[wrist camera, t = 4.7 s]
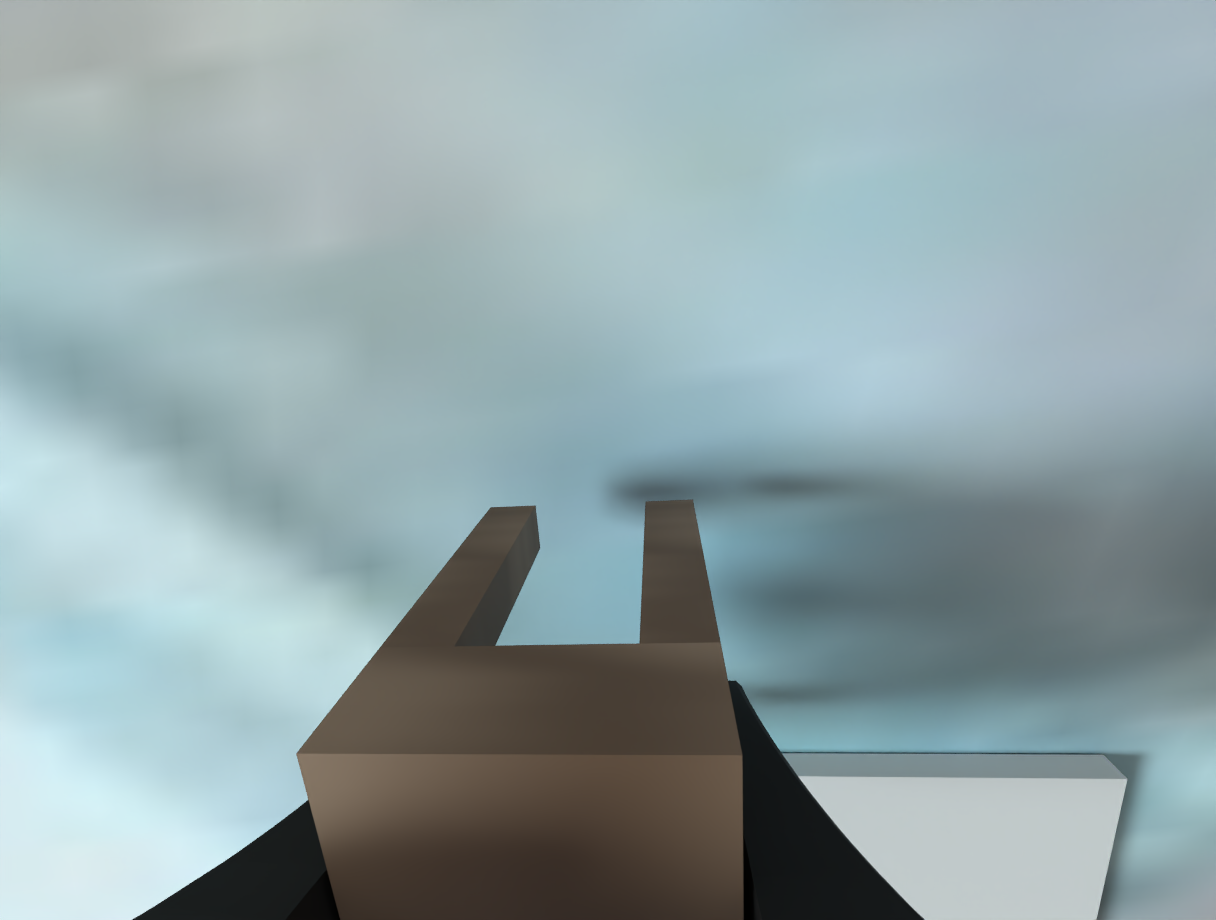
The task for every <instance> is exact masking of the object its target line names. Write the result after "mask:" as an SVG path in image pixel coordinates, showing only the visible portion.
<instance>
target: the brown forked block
mask: <svg viewBox="0 0 1216 920" xmlns="http://www.w3.org/2000/svg"><path fill="white" fill-rule="evenodd" d="M539 549H540V542H539V533H538V524H537V515H536V506H515V507H491V508H490V509H489V510H488V512H487V513H486V514H485V515H484V517H483V518H482V519H481V520H480V522H479V523H478V524H477V526H476V527H475V528H474V529H473V531H472V532H471V533H470V534H469V536H468V537H467V538H466V539H465V541H464V542H463V543H462V545H461V546H460V547H459V548H458V550H457V551H456V552H455V553H454V555H453V556H452V557H451V558H450V560H449V561H448V562H447V563H446V565H445V566H444V567H443V569H442V570H441V571H440V572H439V574H438V575H437V576H436V577H435V579H434V580H433V581H432V582H431V584H430V585H429V586H428V588H427V589H426V590H425V591H424V593H423V594H422V595H421V596H420V598H419V599H418V600H417V601H416V603H415V604H414V605H413V607H412V608H411V609H410V610H409V612H408V613H407V614H406V615H405V617H404V618H403V619H402V620H401V622H400V623H399V624H398V626H397V627H396V628H395V629H394V631H393V632H392V633H391V634H390V636H389V637H388V638H387V639H386V641H385V642H384V643H383V645H382V646H381V647H380V648H379V650H378V651H377V652H376V653H375V655H374V656H373V657H372V658H371V660H370V661H369V662H368V664H367V665H366V666H365V667H364V669H363V670H362V671H361V672H360V674H359V675H358V676H357V677H356V679H355V680H354V681H353V683H352V684H351V685H350V686H349V688H348V689H347V690H346V691H345V693H344V694H343V695H342V696H341V698H340V699H339V700H338V702H337V703H336V704H335V705H334V707H333V708H332V709H331V710H330V712H329V713H328V714H327V715H326V717H325V718H324V719H323V720H322V722H321V723H320V724H319V726H318V727H317V728H316V729H315V731H314V732H313V733H312V734H311V736H310V737H309V738H308V739H307V741H306V742H305V743H304V745H303V746H302V747H301V748H300V750H299V751H298V752H297V753H296V754H297V758H298V762H299V766H300V769H301V773H302V777H303V781H304V784H305V788H306V792H307V796H308V800H309V803H310V807H311V811H312V815H313V818H314V822H315V826H316V830H317V834H318V837H319V841H320V845H321V849H322V853H323V856H324V860H325V864H326V868H327V871H328V875H329V879H330V883H331V887H332V890H333V894H334V898H335V902H336V905H337V909H338V913H339V917H340V920H744V911H743V769H742V751H741V746H740V740H739V735H738V730H737V725H736V720H735V715H734V709H733V704H732V699H731V694H730V689H729V684H728V679H727V673H726V668H725V663H724V658H723V653H722V648H721V643H720V637H719V632H718V627H717V622H716V617H715V612H714V606H713V601H712V596H711V591H710V586H709V581H708V576H707V570H706V565H705V560H704V555H703V550H702V545H701V539H700V534H699V529H698V524H697V519H696V514H695V509H694V503H693V500H670V501H646V504H645V528H644V552H643V575H642V599H641V623H640V644H580V645H513V646H495V645H496V643H497V640H498V638H499V636H500V634H501V632H502V630H503V627H504V625H505V623H506V621H507V619H508V617H509V614H510V612H511V610H512V608H513V606H514V604H515V601H516V599H517V597H518V595H519V593H520V590H521V588H522V586H523V584H524V582H525V580H526V577H527V575H528V573H529V571H530V569H531V567H532V564H533V562H534V560H535V558H536V556H537V554H538V551H539Z"/></svg>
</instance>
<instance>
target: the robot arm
mask: <svg viewBox="0 0 1216 920" xmlns="http://www.w3.org/2000/svg"><path fill="white" fill-rule="evenodd" d="M728 684H729V689H730V694H731V699H732V704H733V709H734V715H735V720H736V725H737V730H738V735H739V740H740V746H741V751H742V769H743V911H744V920H925V919H924V918H923V917H922V916H920V915H919V914H918V913H917V912H916V911H915V910H914V909H913V908H912V907H911V906H910V905H909V904H908V903H907V902H906V901H905V900H904V899H903V898H902V897H901V896H900V895H899V893H898V892H897V891H896V890H895V889H894V888H893V887H892V886H891V885H890V884H889V883H888V882H887V881H886V880H885V879H884V878H883V877H882V876H881V875H880V874H879V873H878V872H877V871H876V869H875V868H874V867H873V866H872V865H871V864H870V863H869V862H868V861H867V860H866V858H865V857H864V856H863V855H862V854H861V853H860V852H859V851H858V850H857V849H856V847H855V846H854V845H853V844H852V843H851V842H850V841H849V839H848V838H847V837H846V836H845V835H844V834H843V832H842V831H841V830H840V829H839V828H838V826H837V825H836V824H835V823H834V822H833V820H832V819H831V818H830V817H829V816H828V814H827V813H826V812H825V811H824V809H823V808H822V807H821V805H820V804H819V803H818V802H817V800H816V799H815V798H814V797H813V795H812V794H811V793H810V792H809V790H808V789H807V788H806V786H805V785H804V784H803V782H802V781H801V780H800V778H799V777H798V776H797V774H796V773H795V771H794V770H793V768H792V767H791V766H790V764H789V763H788V761H787V760H786V759H785V757H784V756H783V754H782V753H781V751H780V750H779V749H778V747H777V746H776V744H775V743H774V741H773V740H772V738H771V737H770V735H769V734H768V732H767V730H766V729H765V727H764V726H763V724H762V722H761V721H760V719H759V718H758V716H757V714H756V712H755V711H754V709H753V707H752V705H751V704H750V702H749V700H748V698H747V696H746V694H745V692H744V690H743V688H742V686H741V685H740V684H739V683H737V682H736V681H728ZM133 920H340V917H339V913H338V909H337V905H336V902H335V898H334V894H333V890H332V887H331V883H330V879H329V875H328V871H327V868H326V864H325V860H324V856H323V853H322V849H321V845H320V841H319V837H318V834H317V830H316V826H315V822H314V818H313V815H312V811H311V807H310V803H309V800H308V801H306V802H305V803H304V804H303V805H301V806H300V807H299V808H298V809H296V810H295V811H294V812H292V813H291V814H290V815H288V816H287V817H286V818H284V819H283V820H282V821H281V822H279V823H278V824H277V825H275V826H274V827H273V828H271V829H270V830H268V831H267V832H266V833H264V834H263V835H261V836H260V837H259V838H257V839H256V840H254V841H253V842H252V843H250V844H249V845H247V846H246V847H245V848H243V849H242V850H240V851H239V852H238V853H236V854H235V855H233V856H232V857H230V858H229V859H227V860H226V861H224V862H223V863H221V864H220V865H218V866H217V867H215V868H214V869H212V870H211V871H209V872H207V873H206V874H204V875H203V876H201V877H200V878H198V879H196V880H195V881H193V882H192V883H190V884H189V885H187V886H186V887H184V888H182V889H181V890H179V891H178V892H176V893H175V894H173V895H172V896H170V897H168V898H167V899H165V900H164V901H162V902H161V903H159V904H158V905H156V906H154V907H153V908H151V909H149V910H148V911H146V912H145V913H143V914H141V915H140V916H138V917H136V918H134V919H133Z"/></svg>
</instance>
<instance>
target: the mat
mask: <svg viewBox="0 0 1216 920" xmlns="http://www.w3.org/2000/svg"><path fill="white" fill-rule="evenodd" d="M782 754H783V756H784V757H785V759H786V760H787V761H788V763H789V764H790V766H791V767H792V768H793V770H794V771H795V773H796V774H797V776H798V777H799V778H800V780H801V781H802V782H803V784H804V785H805V786H806V788H807V789H808V790H809V792H810V793H811V794H812V795H813V797H814V798H815V799H816V800H817V802H818V803H819V804H820V805H821V807H822V808H823V809H824V811H825V812H826V813H827V814H828V816H829V817H830V818H831V819H832V820H833V822H834V823H835V824H836V825H837V826H838V828H839V829H840V830H841V831H842V832H843V834H844V835H845V836H846V837H847V838H848V839H849V841H850V842H851V843H852V844H853V845H854V846H855V847H856V849H857V850H858V851H859V852H860V853H861V854H862V855H863V856H864V857H865V858H866V860H867V861H868V862H869V863H870V864H871V865H872V866H873V867H874V868H875V869H876V871H877V872H878V873H879V874H880V875H881V876H882V877H883V878H884V879H885V880H886V881H887V882H888V883H889V884H890V885H891V886H892V887H893V888H894V889H895V890H896V891H897V892H898V893H899V895H900V896H901V897H902V898H903V899H904V900H905V901H906V902H907V903H908V904H909V905H910V906H911V907H912V908H913V909H914V910H915V911H916V912H917V913H918V914H919V915H920V916H922V917H923V918H924V919H925V920H1096V919H1097V914H1098V910H1099V905H1100V901H1101V896H1102V892H1103V887H1104V883H1105V878H1106V874H1107V869H1108V865H1109V860H1110V856H1111V851H1112V847H1113V842H1114V838H1115V833H1116V829H1117V824H1118V820H1119V815H1120V811H1121V806H1122V802H1123V797H1124V793H1125V788H1126V783H1127V778H1126V777H1125V776H1124V775H1123V774H1122V773H1121V772H1120V771H1119V770H1118V769H1117V768H1116V767H1115V766H1114V765H1113V764H1112V763H1111V762H1110V761H1109V760H1108V759H1107V758H1106V757H1105V756H1104V755H1066V754H838V753H782Z"/></svg>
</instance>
